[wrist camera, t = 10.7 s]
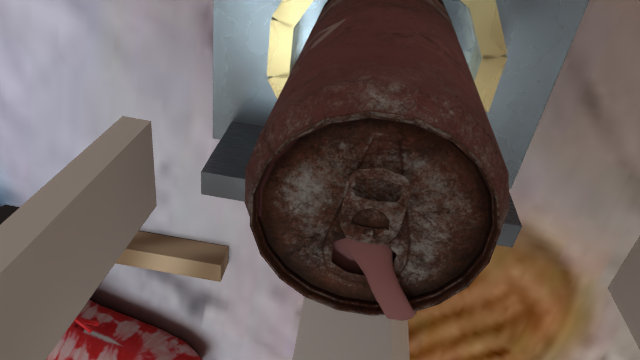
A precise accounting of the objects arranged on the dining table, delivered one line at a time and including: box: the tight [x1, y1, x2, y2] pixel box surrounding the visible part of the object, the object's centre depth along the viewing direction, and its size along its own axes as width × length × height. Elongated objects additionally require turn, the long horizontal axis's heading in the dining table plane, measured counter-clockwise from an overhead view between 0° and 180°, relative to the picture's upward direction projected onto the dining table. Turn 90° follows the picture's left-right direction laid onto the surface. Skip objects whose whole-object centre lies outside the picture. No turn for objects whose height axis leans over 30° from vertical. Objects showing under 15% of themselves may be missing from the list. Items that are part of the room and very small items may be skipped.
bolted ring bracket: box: [201, 0, 589, 247], centre depth 22 cm, size 16×12×9 cm
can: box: [245, 0, 510, 321], centre depth 16 cm, size 6×6×14 cm
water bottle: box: [46, 300, 202, 360], centre depth 39 cm, size 12×8×25 cm
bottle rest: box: [116, 231, 229, 282], centre depth 40 cm, size 26×18×2 cm
